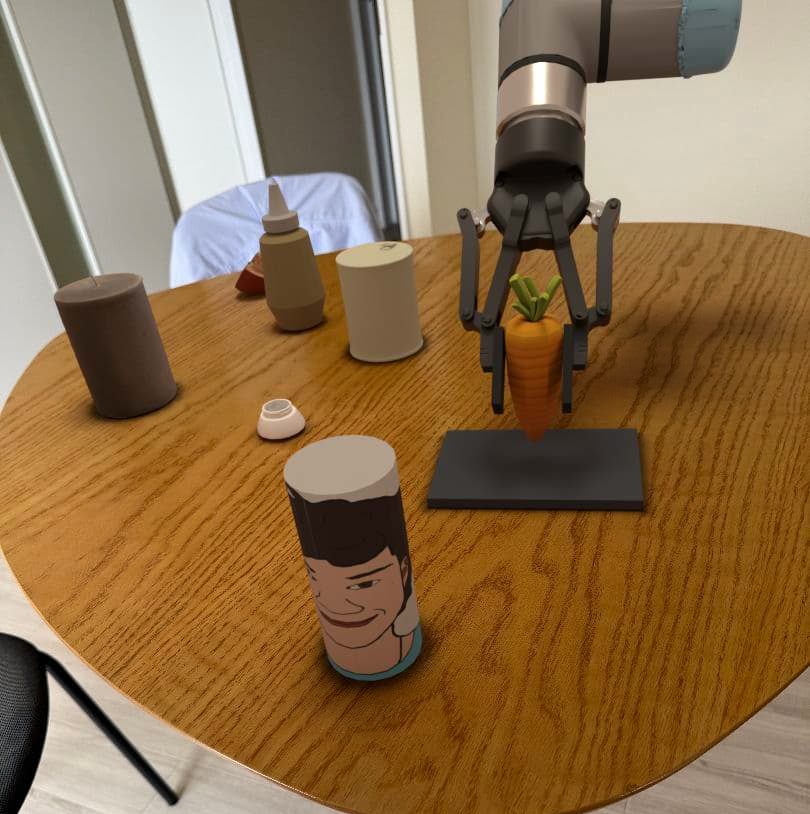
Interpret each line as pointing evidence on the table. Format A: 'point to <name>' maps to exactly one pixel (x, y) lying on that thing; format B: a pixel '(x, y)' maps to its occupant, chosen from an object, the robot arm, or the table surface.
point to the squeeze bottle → (289, 267)
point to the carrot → (534, 356)
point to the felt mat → (539, 470)
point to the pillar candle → (117, 344)
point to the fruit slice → (252, 277)
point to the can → (380, 301)
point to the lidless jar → (279, 420)
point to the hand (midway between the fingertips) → (531, 408)
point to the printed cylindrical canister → (356, 553)
